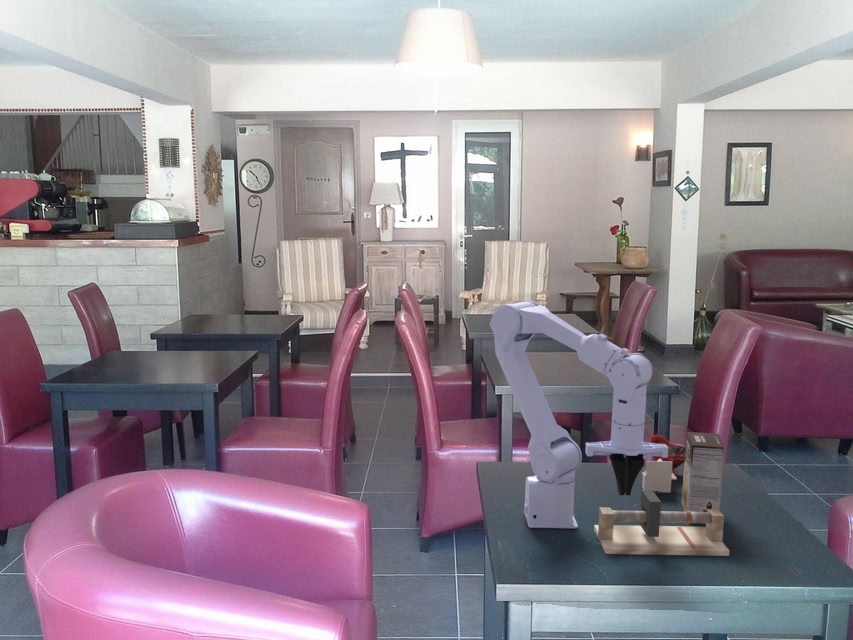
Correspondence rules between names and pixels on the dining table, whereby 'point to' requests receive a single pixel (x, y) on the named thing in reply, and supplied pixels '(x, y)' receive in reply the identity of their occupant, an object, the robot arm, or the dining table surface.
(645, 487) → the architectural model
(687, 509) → the coffee box
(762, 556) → the dining table surface
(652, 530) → the upright gray tile
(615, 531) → the pipe board
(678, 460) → the decorative bird figurine
